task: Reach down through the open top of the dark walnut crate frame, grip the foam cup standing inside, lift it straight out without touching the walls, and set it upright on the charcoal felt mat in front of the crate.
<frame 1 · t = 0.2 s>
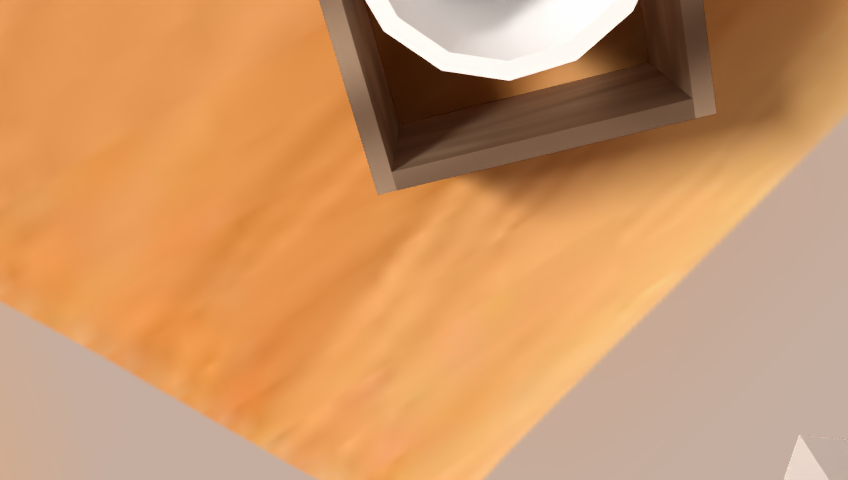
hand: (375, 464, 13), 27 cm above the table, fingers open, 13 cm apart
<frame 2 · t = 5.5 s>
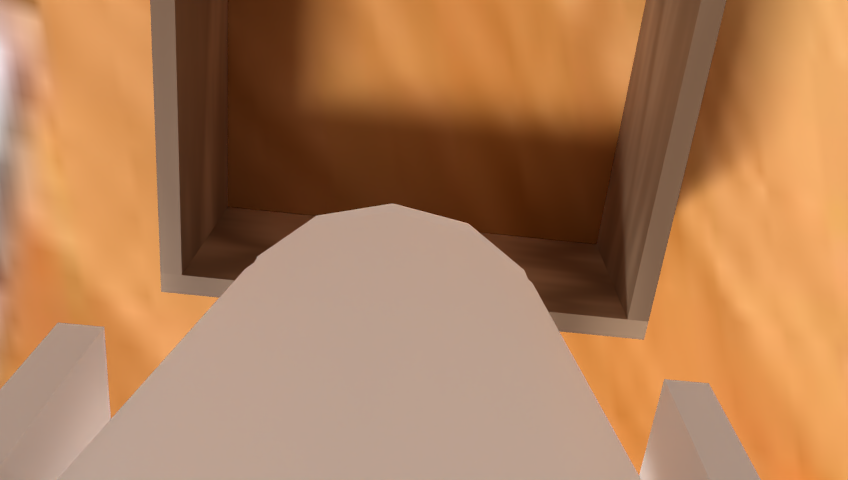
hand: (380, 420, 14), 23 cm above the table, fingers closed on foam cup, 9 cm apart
foam cup: (388, 349, 16), point 20 cm above the table, touching gripper
crate: (425, 97, 35), on the table
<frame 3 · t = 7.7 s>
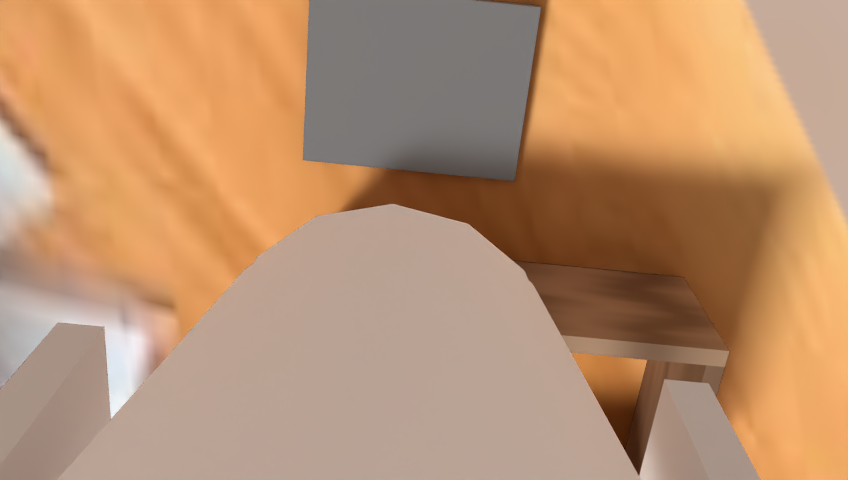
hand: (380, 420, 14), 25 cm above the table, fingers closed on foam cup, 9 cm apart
foam cup: (388, 349, 16), point 23 cm above the table, touching gripper
mat: (417, 83, 37), on the table
crate: (483, 373, 43), on the table
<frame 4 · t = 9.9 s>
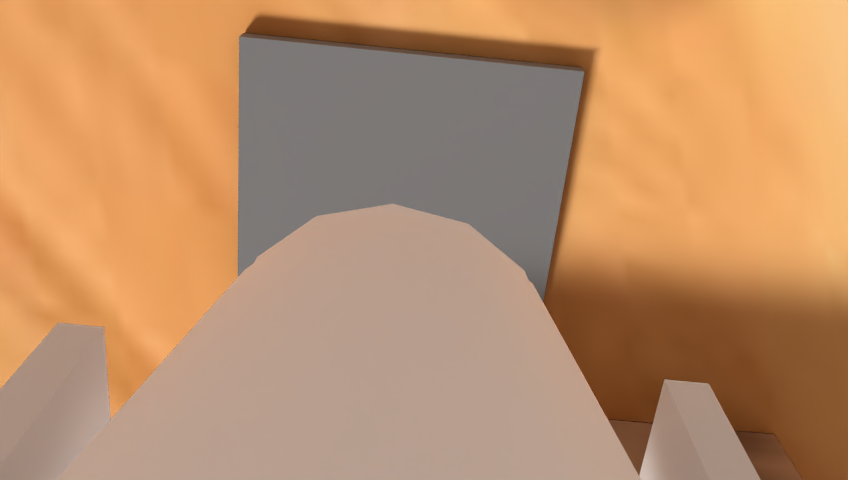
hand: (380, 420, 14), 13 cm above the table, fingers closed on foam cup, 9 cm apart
foam cup: (388, 349, 16), point 10 cm above the table, touching gripper
mat: (401, 177, 25), on the table
when the fingers open (4 cm above the table, at t = 12.1 s): foam cup drops 1 cm, resting on mat.
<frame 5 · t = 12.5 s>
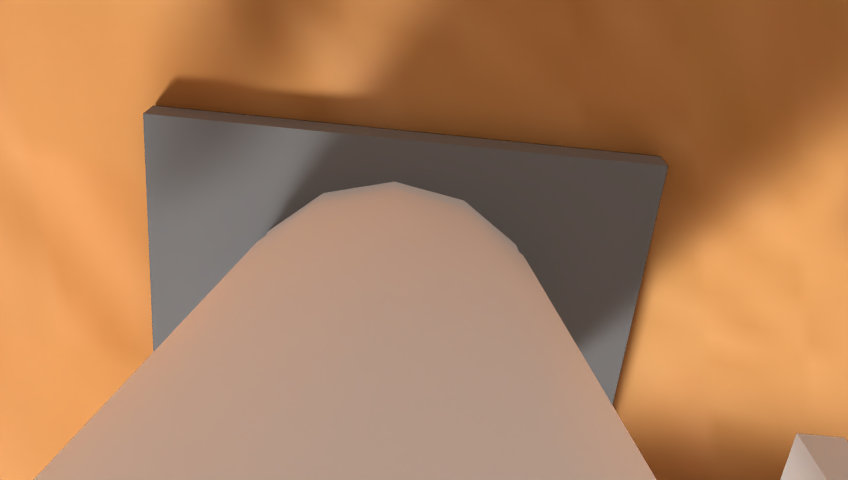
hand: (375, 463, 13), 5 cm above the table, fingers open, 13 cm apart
foam cup: (389, 319, 17), resting on mat
mat: (392, 309, 17), on the table
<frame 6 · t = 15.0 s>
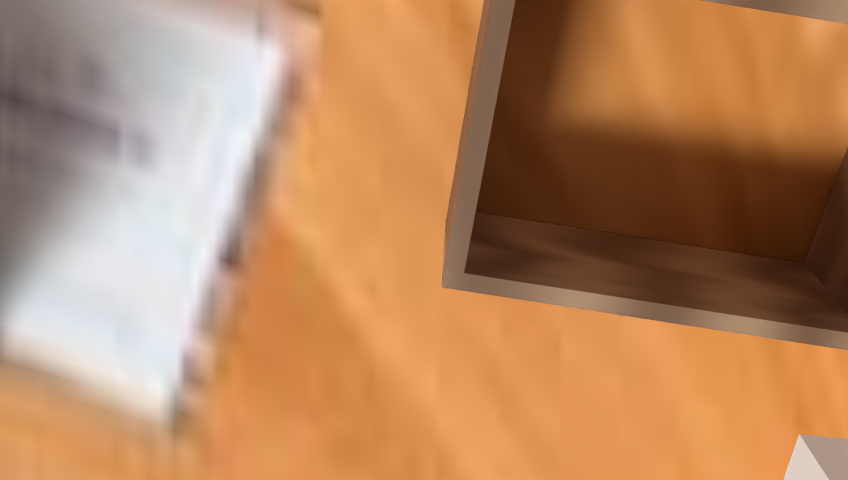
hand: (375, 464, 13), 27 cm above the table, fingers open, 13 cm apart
crate: (667, 119, 37), on the table
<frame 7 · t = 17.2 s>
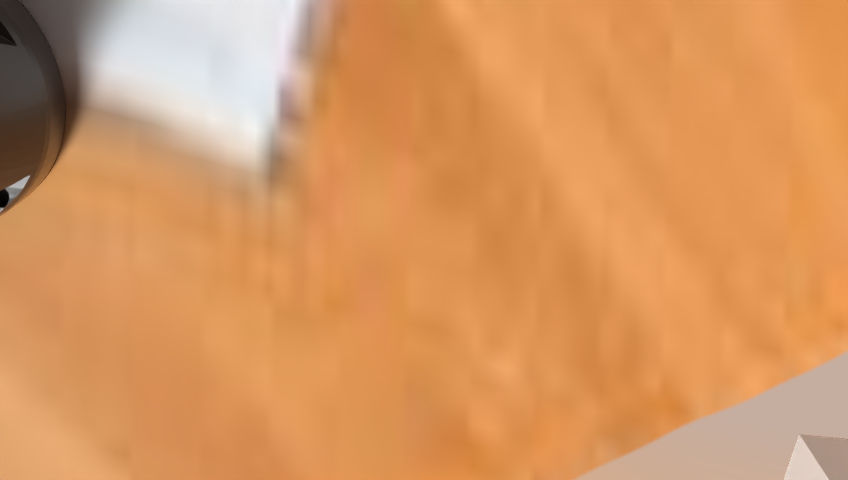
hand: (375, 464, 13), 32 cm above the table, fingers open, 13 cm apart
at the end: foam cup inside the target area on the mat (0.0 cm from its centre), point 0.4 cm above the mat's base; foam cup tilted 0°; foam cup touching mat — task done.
